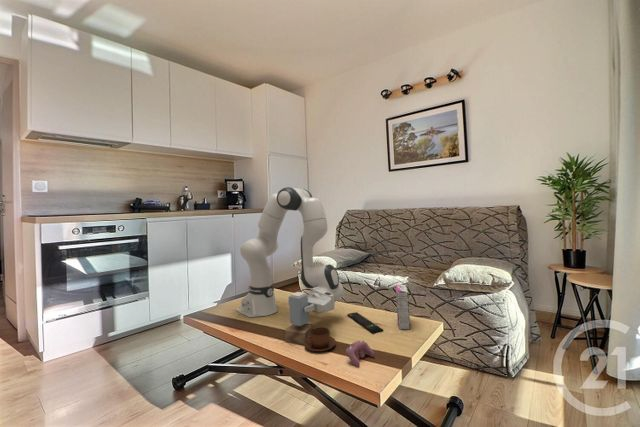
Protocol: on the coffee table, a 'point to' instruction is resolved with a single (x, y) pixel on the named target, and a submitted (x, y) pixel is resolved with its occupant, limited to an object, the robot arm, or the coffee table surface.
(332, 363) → the coffee table surface
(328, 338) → the cup and saucer
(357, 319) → the remote control
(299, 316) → the tall gray box
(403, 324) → the candy bar box
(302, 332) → the walnut block
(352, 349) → the video game controller
